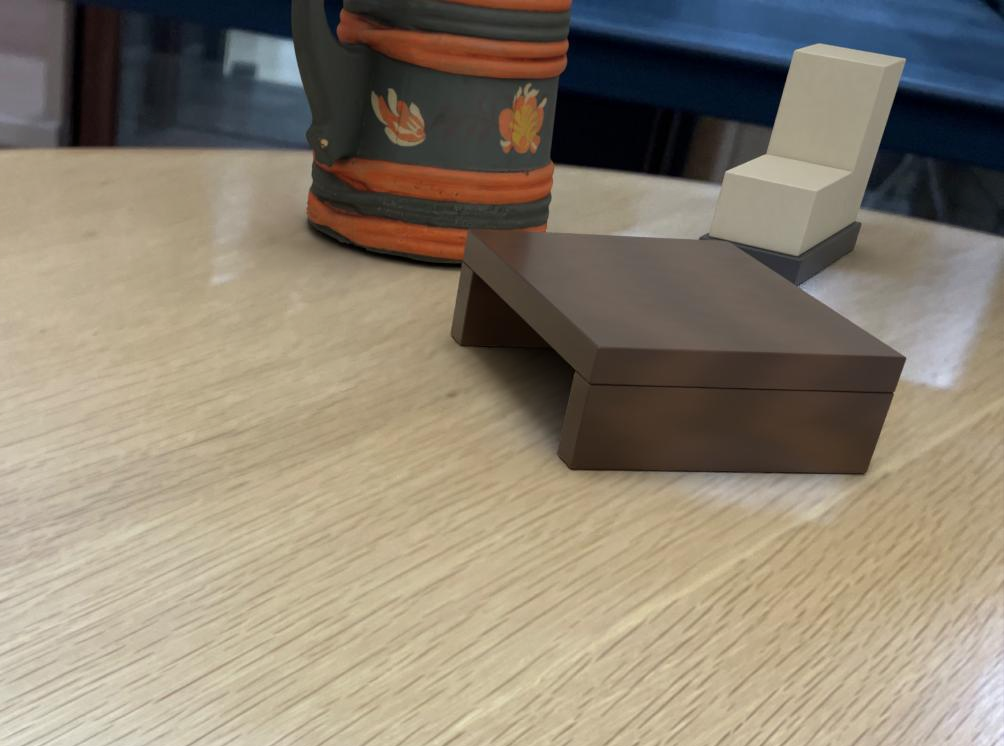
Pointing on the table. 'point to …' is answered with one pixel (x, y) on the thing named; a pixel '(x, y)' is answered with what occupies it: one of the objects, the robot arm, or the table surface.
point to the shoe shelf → (681, 352)
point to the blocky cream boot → (811, 163)
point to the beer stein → (430, 119)
